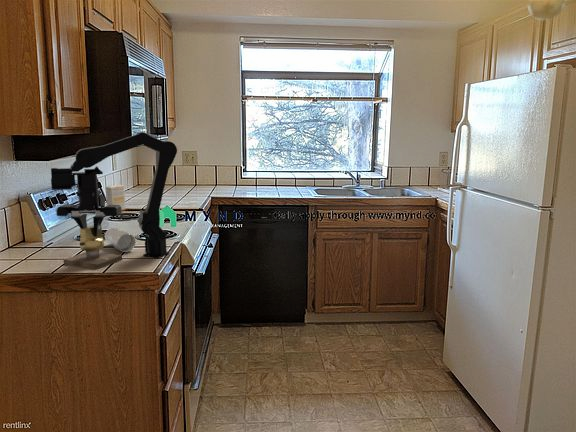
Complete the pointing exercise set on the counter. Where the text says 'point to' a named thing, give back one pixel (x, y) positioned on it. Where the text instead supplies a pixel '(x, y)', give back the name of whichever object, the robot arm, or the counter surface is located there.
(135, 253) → the counter surface
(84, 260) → the base
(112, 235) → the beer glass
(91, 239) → the cap
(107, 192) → the supplement box
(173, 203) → the counter surface
